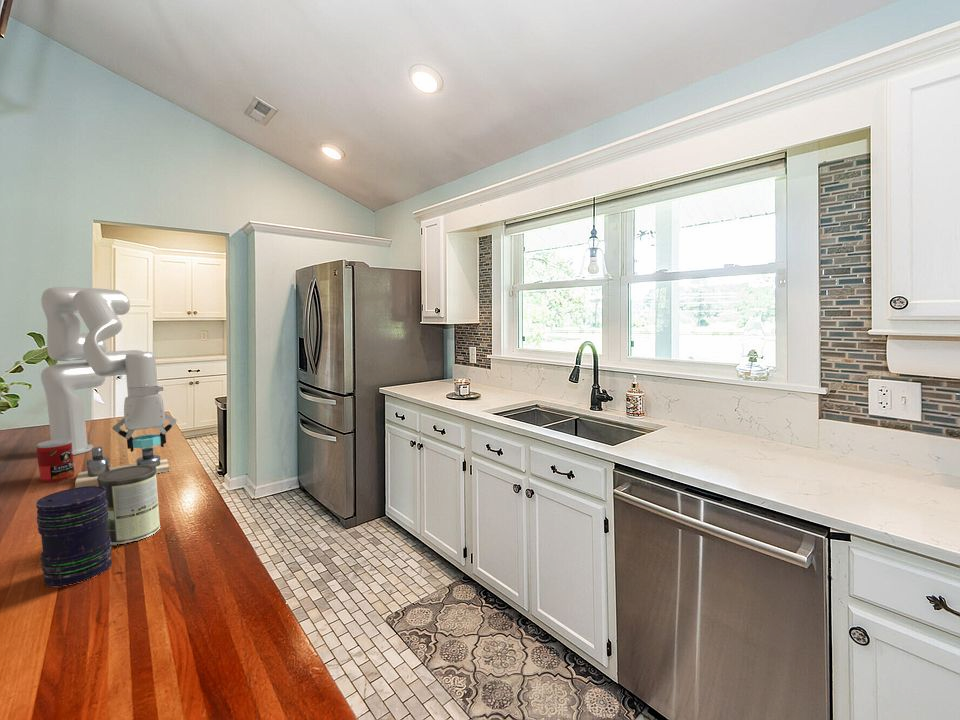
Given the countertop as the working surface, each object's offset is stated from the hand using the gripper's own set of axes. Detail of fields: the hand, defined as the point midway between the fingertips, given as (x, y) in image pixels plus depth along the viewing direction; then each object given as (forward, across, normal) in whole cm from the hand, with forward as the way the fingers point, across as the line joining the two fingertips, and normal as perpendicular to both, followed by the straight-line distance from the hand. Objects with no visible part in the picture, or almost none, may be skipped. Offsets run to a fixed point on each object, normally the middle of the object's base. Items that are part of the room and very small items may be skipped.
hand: (147, 447), depth 143 cm
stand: (+6, +12, 0) cm, 13 cm away
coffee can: (+7, +4, +50) cm, 51 cm away
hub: (+6, 0, 0) cm, 6 cm away
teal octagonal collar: (-1, 0, 0) cm, 1 cm away
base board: (+7, +6, 0) cm, 9 cm away
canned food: (+7, +22, -9) cm, 25 cm away
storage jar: (+7, +12, +63) cm, 65 cm away
